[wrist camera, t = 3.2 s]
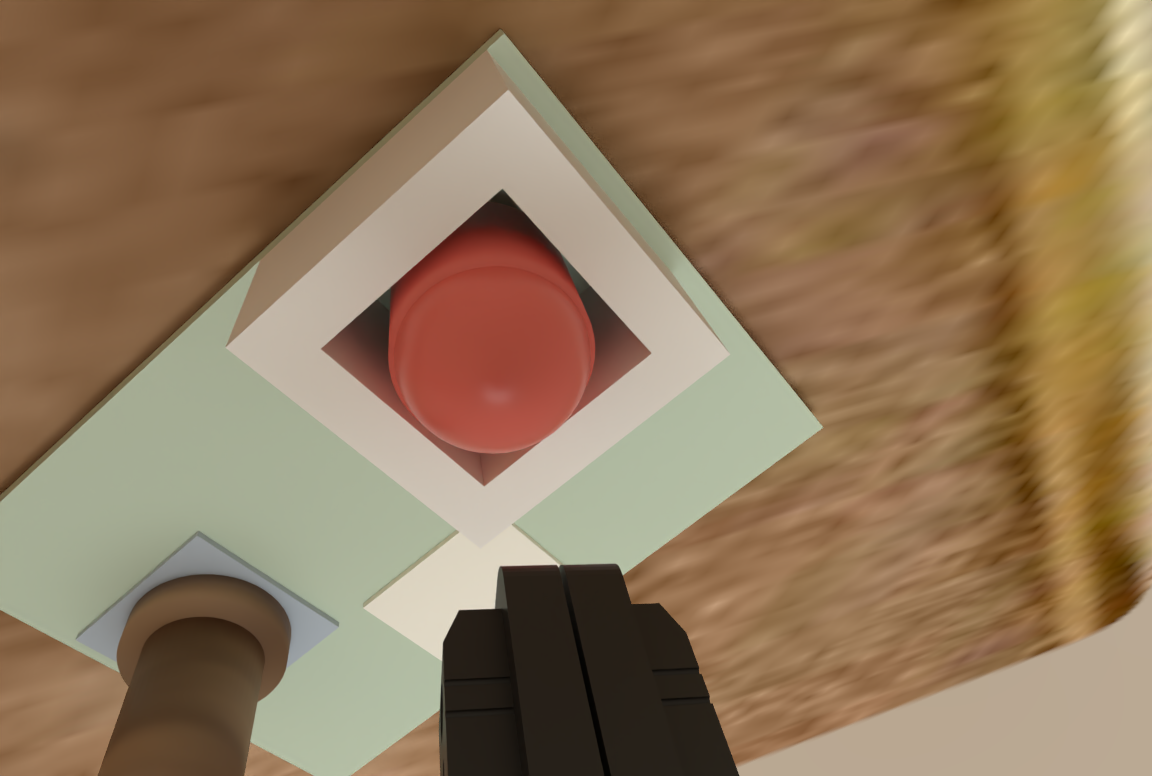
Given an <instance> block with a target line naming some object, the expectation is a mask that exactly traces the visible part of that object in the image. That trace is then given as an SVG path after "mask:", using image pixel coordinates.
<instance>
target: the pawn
mask: <svg viewBox="0 0 1152 776" xmlns="http://www.w3.org/2000/svg"><path fill="white" fill-rule="evenodd" d="M290 641H291V625H290V621H289V618H288V615H287V614H286V612H285V610H284V608H283V607H282V606H281V604H280V603H279V602H278V601H277V600H276V599H275V598H274V597H273V596H272V595H270V594H269V593H268V592H266V591H265V590H263V589H262V588H260V587H258V586H256V585H254V584H252V583H250V582H247V581H244V580H241V579H238V578H234V577H229V576H224V575H215V574H200V575H190V576H184V577H180V578H176V579H173V580H170V581H167V582H165V583H162V584H160V585H158V586H157V587H155V588H153V589H151V590H150V591H149V592H147V593H146V594H145V595H144V596H143V597H142V598H141V599H140V600H139V601H138V602H137V603H136V604H135V606H134V607H133V609H132V611H131V613H130V615H129V617H128V620H127V623H126V625H125V628H124V631H123V633H122V636H121V638H120V641H119V644H118V648H117V656H116V658H117V665H118V669H119V672H120V674H121V676H122V678H123V680H124V681H125V682H126V684H127V685H128V686H129V688H128V691H127V694H126V696H125V699H124V702H123V705H122V708H121V711H120V714H119V716H118V719H117V722H116V725H115V728H114V731H113V734H112V736H111V739H110V742H109V745H108V748H107V751H106V754H105V756H104V759H103V762H102V765H101V768H100V771H99V774H98V776H244V773H245V768H246V762H247V757H248V751H249V746H250V740H251V735H252V729H253V724H254V718H255V713H256V708H257V702H259V701H260V700H262V699H263V698H265V697H266V696H267V695H269V694H270V693H271V692H272V691H273V690H274V689H275V688H276V687H277V685H278V684H279V683H280V681H281V679H282V678H283V676H284V673H285V671H286V666H287V661H288V654H289V648H290Z"/></svg>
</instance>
